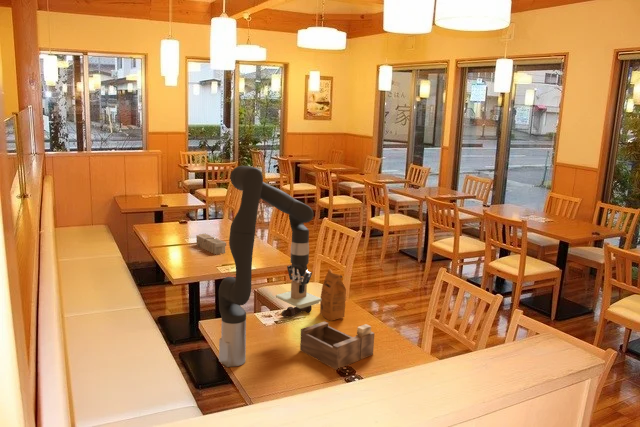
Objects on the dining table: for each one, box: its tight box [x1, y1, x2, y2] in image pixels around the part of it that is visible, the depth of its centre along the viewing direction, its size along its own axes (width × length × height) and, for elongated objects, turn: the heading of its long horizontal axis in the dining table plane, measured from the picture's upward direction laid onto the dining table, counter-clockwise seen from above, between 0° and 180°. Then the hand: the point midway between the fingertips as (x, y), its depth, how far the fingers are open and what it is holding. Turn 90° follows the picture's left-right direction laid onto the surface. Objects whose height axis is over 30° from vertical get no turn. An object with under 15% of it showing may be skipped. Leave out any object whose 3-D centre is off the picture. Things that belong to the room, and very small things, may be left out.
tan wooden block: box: [356, 323, 372, 336], centre depth 216 cm, size 5×3×3 cm, turn 133°
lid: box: [275, 279, 322, 309], centre depth 228 cm, size 13×15×9 cm
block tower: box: [195, 233, 227, 255], centre depth 363 cm, size 8×8×29 cm
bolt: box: [281, 305, 313, 318], centre depth 257 cm, size 6×5×15 cm
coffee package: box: [319, 268, 347, 322], centre depth 256 cm, size 10×12×22 cm
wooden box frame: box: [299, 321, 375, 370], centre depth 219 cm, size 21×21×9 cm
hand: (298, 291), depth 228 cm, fingers closed on lid, 3 cm apart
